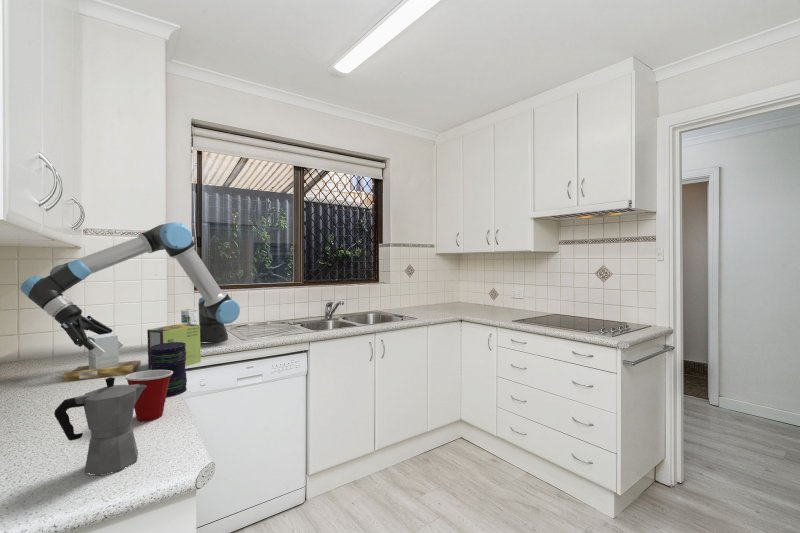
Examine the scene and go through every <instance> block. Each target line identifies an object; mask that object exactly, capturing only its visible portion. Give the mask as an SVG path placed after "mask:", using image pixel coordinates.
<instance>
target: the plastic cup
mask: <svg viewBox="0 0 800 533" xmlns="http://www.w3.org/2000/svg"><path fill="white" fill-rule="evenodd" d="M172 374H173V371H170V370H152V369H148V370H141V371H135V372H134V373H131V374H128V375H124V376H125V377H124V378H125V380H126V381H127V385H135V384H144V385H146V386H147V387H146V388H145V389H144V390H143V391H142V393H141V395H140V396H139V398H138V400H137V402H136V403H135V405H134V413H135V417H136V419H137V421H138V422H143V421H144V422H150V421H149V420H151V421H154V419H155V420H158V419H159V418H161V417H162V416H163V414H164V410H165V404H166V399H167V397H166V395H167V389H168V383H169V380H170V377H171V375H172Z"/></svg>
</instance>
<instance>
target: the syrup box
mask: <svg viewBox="0 0 800 533" xmlns="http://www.w3.org/2000/svg"><path fill="white" fill-rule="evenodd" d="M197 313H198V311H197V308H183V309H181V310H180V316H181V317H180V318H181V319H180V320H181V322H180V324H182V323H187V324H196V325H198V314H197Z"/></svg>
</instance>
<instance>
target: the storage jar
mask: <svg viewBox="0 0 800 533" xmlns="http://www.w3.org/2000/svg"><path fill="white" fill-rule="evenodd" d="M185 346H186V344H185V343H183V342H171V343H163V344H157V345H154V346H151V347H150V350H151V352H150V360H151V362H150V363H151V366H152V369H151V370H170V371H173V374H172V375H171V377H170V380H169V383H168V389H167V395H166V398H172V397H176V396H178V395H179V396H180V395H182V394H184V393H186V392H187V390H188V389H187V382H188V381H187V380H188V378H187V372H186V366H185V361H186V348H185Z"/></svg>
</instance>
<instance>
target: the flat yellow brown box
mask: <svg viewBox="0 0 800 533" xmlns="http://www.w3.org/2000/svg"><path fill="white" fill-rule="evenodd" d="M141 364H142V363H141V359H140V360H131V361H130V360H129V361H121V362H120V361H119V367H111V368H102V369H92V370H89V365H82V366H77V367H76V368H74V369H73V370H72V371H66V372H63V382H64V381H67V382H75V381H74V380H76V381H83V380H84V381H85V380H90V379H92V380H93V379H101V378H109V377H118V376H126V375H128V374H131V373H135V372H136V370H138V368H139V367H140V366H141Z"/></svg>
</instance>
